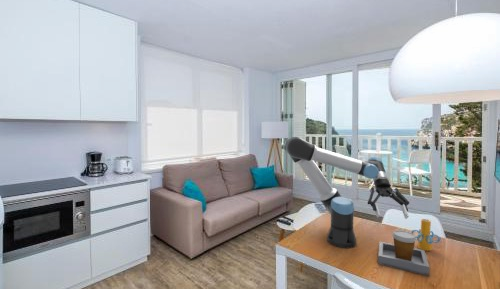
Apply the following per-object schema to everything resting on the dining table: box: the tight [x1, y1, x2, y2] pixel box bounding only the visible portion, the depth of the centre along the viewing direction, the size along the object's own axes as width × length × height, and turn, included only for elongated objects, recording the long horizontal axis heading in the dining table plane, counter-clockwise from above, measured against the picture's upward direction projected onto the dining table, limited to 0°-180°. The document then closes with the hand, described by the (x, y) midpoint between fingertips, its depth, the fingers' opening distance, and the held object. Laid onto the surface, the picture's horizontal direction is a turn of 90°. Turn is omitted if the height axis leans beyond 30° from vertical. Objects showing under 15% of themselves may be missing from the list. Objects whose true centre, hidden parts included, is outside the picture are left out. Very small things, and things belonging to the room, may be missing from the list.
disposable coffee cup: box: [391, 229, 417, 261], centre depth 114 cm, size 10×10×12 cm
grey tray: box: [377, 241, 430, 277], centre depth 114 cm, size 19×16×4 cm
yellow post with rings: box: [410, 218, 441, 252], centre depth 125 cm, size 12×10×15 cm
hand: (392, 217), depth 123 cm, fingers open, 13 cm apart
